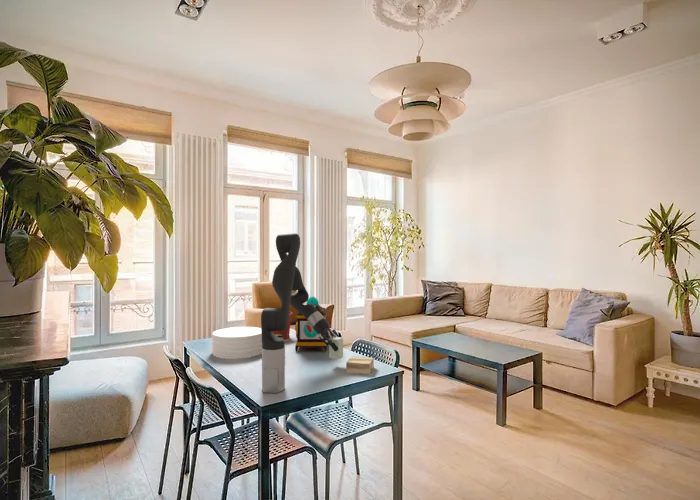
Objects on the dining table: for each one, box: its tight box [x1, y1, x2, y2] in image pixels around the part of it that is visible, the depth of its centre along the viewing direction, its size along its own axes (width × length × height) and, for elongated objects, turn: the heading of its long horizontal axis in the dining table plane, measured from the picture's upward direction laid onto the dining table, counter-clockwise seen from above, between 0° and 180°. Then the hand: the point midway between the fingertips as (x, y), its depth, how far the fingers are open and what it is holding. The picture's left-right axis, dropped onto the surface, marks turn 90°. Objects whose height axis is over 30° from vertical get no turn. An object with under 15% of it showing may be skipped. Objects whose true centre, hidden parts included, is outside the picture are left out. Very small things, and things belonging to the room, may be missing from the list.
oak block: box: [345, 355, 375, 375], centre depth 189 cm, size 11×11×5 cm
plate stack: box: [211, 326, 262, 360], centre depth 221 cm, size 28×28×12 cm
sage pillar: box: [328, 336, 344, 360], centre depth 195 cm, size 5×5×10 cm
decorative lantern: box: [294, 296, 331, 353], centre depth 229 cm, size 20×20×30 cm
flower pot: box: [271, 310, 293, 340], centre depth 256 cm, size 16×16×16 cm
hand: (339, 348), depth 194 cm, fingers closed on sage pillar, 5 cm apart
